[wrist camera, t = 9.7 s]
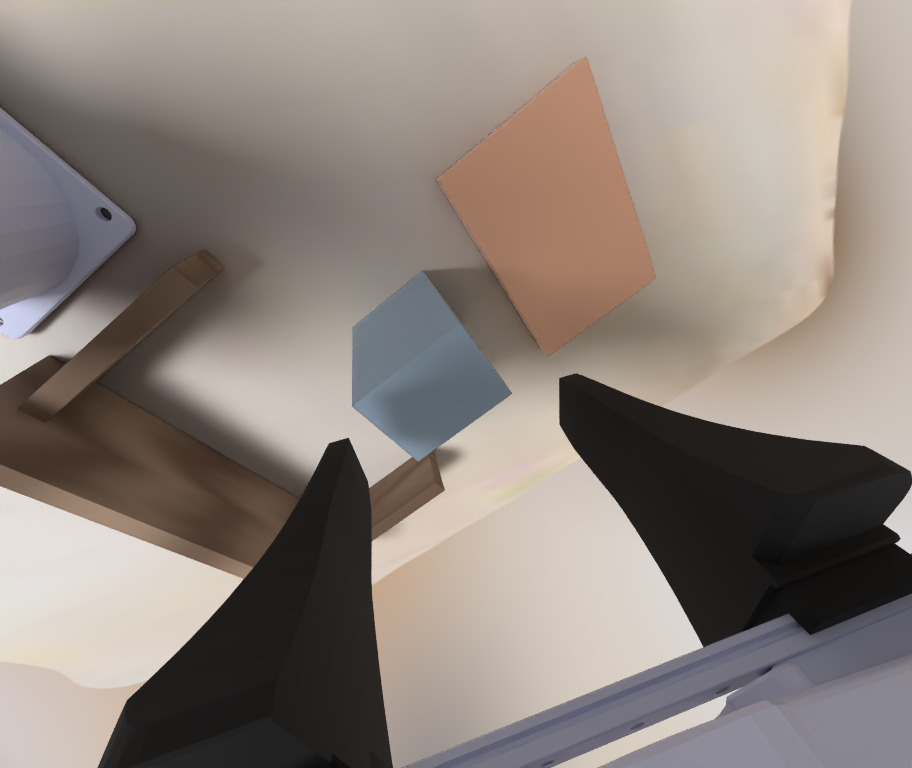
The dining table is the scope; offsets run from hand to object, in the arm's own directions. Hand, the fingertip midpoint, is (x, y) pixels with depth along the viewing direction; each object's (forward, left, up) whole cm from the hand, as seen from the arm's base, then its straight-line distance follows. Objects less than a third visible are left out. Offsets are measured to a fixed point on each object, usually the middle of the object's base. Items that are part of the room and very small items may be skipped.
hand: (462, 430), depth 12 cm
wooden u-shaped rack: (0, -10, -10) cm, 15 cm away
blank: (0, -1, -10) cm, 11 cm away
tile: (+1, +9, -10) cm, 14 cm away
